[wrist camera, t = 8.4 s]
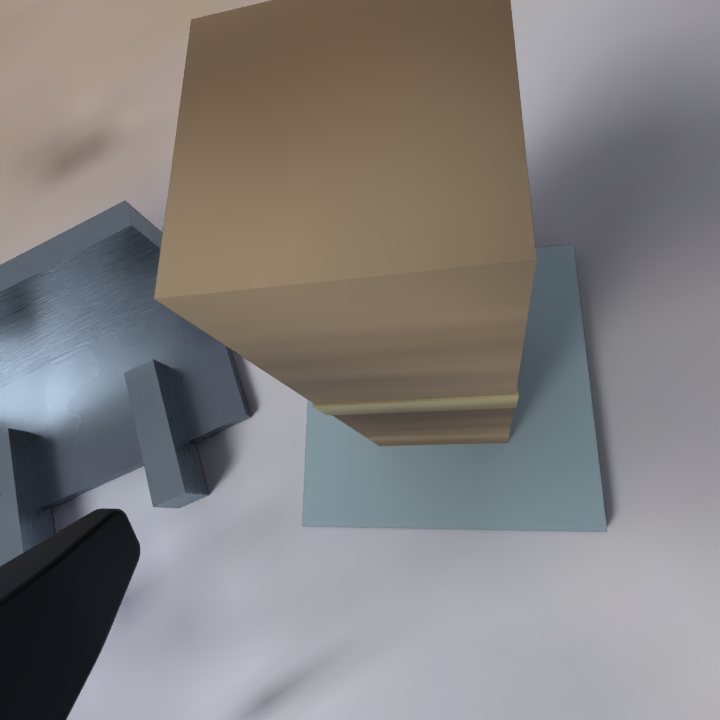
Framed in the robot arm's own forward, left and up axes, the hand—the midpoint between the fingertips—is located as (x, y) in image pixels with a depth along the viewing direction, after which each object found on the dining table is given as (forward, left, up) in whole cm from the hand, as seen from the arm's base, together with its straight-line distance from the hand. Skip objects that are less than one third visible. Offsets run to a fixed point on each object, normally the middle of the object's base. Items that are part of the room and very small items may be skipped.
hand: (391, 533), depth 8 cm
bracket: (+13, +3, -9) cm, 16 cm away
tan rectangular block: (+2, -4, -8) cm, 10 cm away
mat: (+2, -4, -9) cm, 10 cm away
